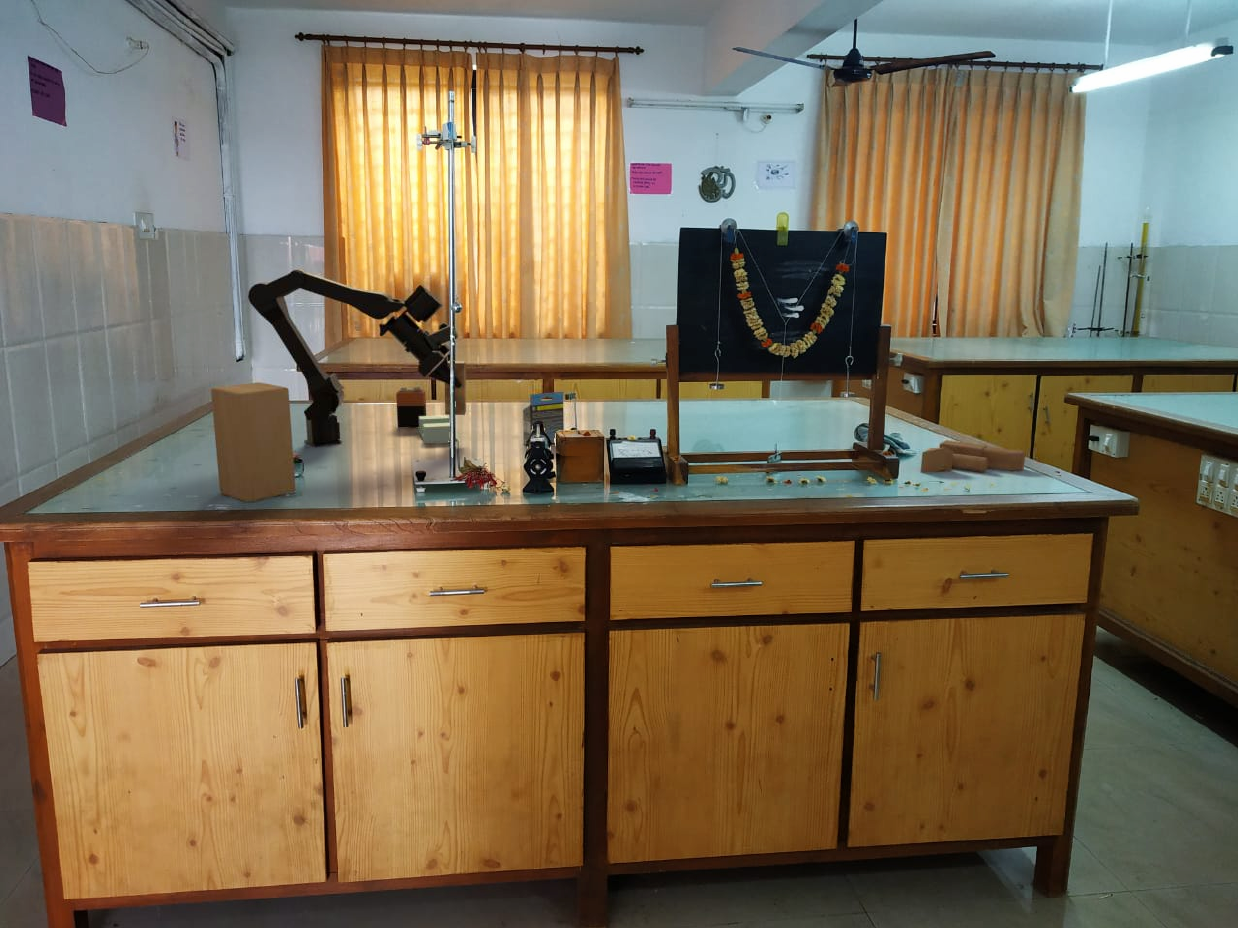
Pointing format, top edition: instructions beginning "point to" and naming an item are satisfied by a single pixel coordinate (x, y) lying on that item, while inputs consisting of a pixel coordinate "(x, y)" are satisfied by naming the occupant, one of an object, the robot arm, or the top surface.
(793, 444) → the top surface
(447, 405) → the slat
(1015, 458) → the wooden block set
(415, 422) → the battery
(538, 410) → the label tape cartridge
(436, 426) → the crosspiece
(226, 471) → the wooden block
